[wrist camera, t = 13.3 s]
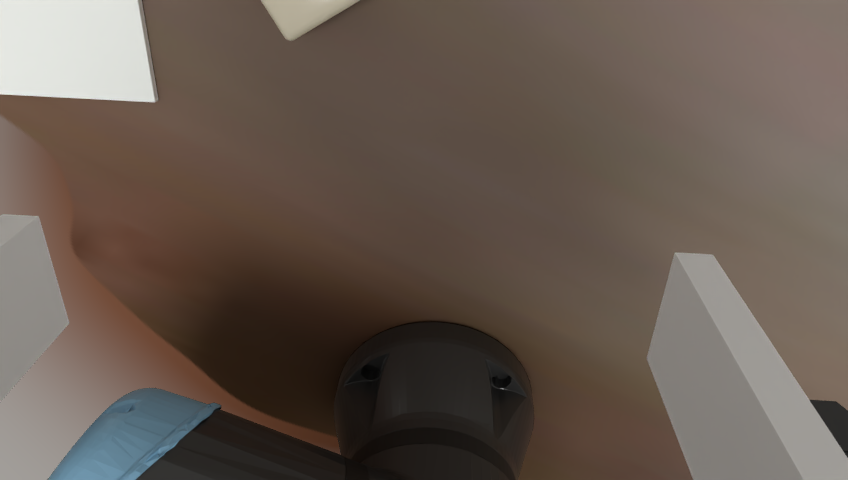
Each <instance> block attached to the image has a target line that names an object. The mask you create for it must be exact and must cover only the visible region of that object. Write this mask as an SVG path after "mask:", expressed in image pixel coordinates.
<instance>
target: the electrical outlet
mask: <svg viewBox="0 0 848 480" xmlns="http://www.w3.org/2000/svg"><path fill="white" fill-rule="evenodd" d="M358 1H360V0H261V2H262V3H263V5H264V6H265V8H266V9H267V11H268V12H269V14H270V16H271V17H272V19H273V20H274V22H275V23H276V25H277V27H278V28H279V30H280V31H281V33H282V34H283V36H284V37H285V38H286V39H287V40H289V41H293V40H295V39H297V38H299V37H300V36H302V35H304V34H305V33H307V32H309V31H310V30H312V29H313V28H315V27H317V26H318V25H320V24H322V23H323V22H325V21H327V20H328V19H330V18H332V17H333V16H335V15H337V14H338V13H340V12H342V11H343V10H345V9H347V8H348V7H350V6H352V5H353V4H355V3H357V2H358Z"/></svg>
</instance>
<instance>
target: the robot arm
mask: <svg viewBox="0 0 848 480" xmlns="http://www.w3.org/2000/svg"><path fill="white" fill-rule="evenodd" d="M68 324H69V320H68V317H67V313H66V310H65V306H64V303H63V299H62V296H61V292H60V289H59V285H58V282H57V278H56V275H55V271H54V268H53V264H52V261H51V257H50V254H49V250H48V247H47V243H46V240H45V236H44V233H43V229H42V226H41V223H40V219H39V216H26V215H9V214H2V215H1V216H0V402H1V401H2V400H3V398H4V397H5V396H6V395H7V394H8V393H9V392H10V390H11V389H12V388H13V387H14V386H15V385H16V384H17V382H18V381H19V380H20V379H21V378H22V377H23V376H24V374H25V373H26V372H27V371H28V370H29V369H30V368H31V366H32V365H33V364H34V363H35V362H36V361H37V360H38V358H39V357H40V356H41V355H42V354H43V353H44V352H45V350H46V349H47V348H48V347H49V346H50V345H51V344H52V343H53V341H54V340H55V339H56V338H57V337H58V336H59V334H60V333H61V332H62V331H63V330H64V329H65V328H66V326H67V325H68ZM647 360H648V363H649V366H650V368H651V371H652V373H653V376H654V379H655V381H656V384H657V386H658V389H659V392H660V394H661V397H662V400H663V402H664V405H665V407H666V410H667V413H668V415H669V418H670V420H671V423H672V426H673V428H674V431H675V433H676V436H677V439H678V441H679V444H680V446H681V449H682V452H683V454H684V457H685V459H686V462H687V465H688V467H689V470H690V472H691V475H692V478H693V480H848V411H847V410H846V409H845V408H844V407H842V406H841V405H840V404H839V403H837V402H835V401H819V400H809V399H808V397H807V396H806V394H805V393H804V391H803V390H802V388H801V387H800V385H799V384H798V382H797V381H796V379H795V378H794V376H793V375H792V373H791V372H790V370H789V369H788V367H787V366H786V364H785V363H784V361H783V360H782V358H781V357H780V355H779V354H778V352H777V351H776V349H775V348H774V346H773V345H772V343H771V342H770V340H769V339H768V337H767V336H766V334H765V333H764V331H763V330H762V328H761V326H760V325H759V323H758V322H757V320H756V319H755V317H754V316H753V314H752V313H751V311H750V310H749V308H748V307H747V305H746V304H745V302H744V301H743V299H742V298H741V296H740V295H739V293H738V292H737V290H736V289H735V287H734V286H733V284H732V283H731V281H730V280H729V278H728V277H727V275H726V274H725V272H724V271H723V269H722V268H721V266H720V265H719V263H718V262H717V260H716V259H715V257H714V256H713V255H711V254H693V253H676V252H675V253H674V257H673V261H672V265H671V269H670V272H669V276H668V280H667V284H666V287H665V291H664V295H663V299H662V303H661V306H660V310H659V314H658V318H657V321H656V325H655V329H654V333H653V337H652V340H651V344H650V348H649V352H648V356H647ZM220 409H221V405H219V404H217V403H211V404H205V403H202V402H199V401H196V400H193V399H190V398H187V397H184V396H180V395H177V394H174V393H171V392H168V391H165V390H162V389H157V388H144V389H138V390H135V391H132V392H130V393H128V394H126V395H124V396H123V397H121V398H120V399H118V400H117V401H116V402H114V403H113V404H112V405H111V406H109V407H108V408H107V409H106V410H105V411H104V412H103V413H102V414H101V415H100V416H99V417H98V418H97V419H96V420H95V422H94V423H93V424H92V425H91V426H90V427H89V428H88V429H87V430H86V432H85V433H84V434H83V435H82V436H81V438H80V439H79V440H78V441H77V442H76V443H75V445H74V446H73V447H72V448H71V450H70V451H69V452H68V453H67V455H66V456H65V457H64V459H63V460H62V461H61V462H60V464H59V465H58V467H57V468H56V469H55V470H54V472H53V473H52V474H51V476H50V477H49V478H48V480H518V477H519V474H520V470H521V467H522V464H523V461H524V457H525V454H526V451H527V447H528V444H529V441H530V438H531V434H532V430H533V424H534V407H533V399H532V392H531V386H530V382H529V379H528V376H527V374H526V372H525V370H524V368H523V367H522V365H521V363H520V362H519V361H518V360H517V358H516V357H515V356H514V355H513V354H512V353H511V352H510V351H509V350H508V349H507V348H506V347H504V346H503V345H502V344H501V343H499V342H498V341H496V340H495V339H493V338H491V337H489V336H487V335H485V334H483V333H481V332H479V331H476V330H474V329H471V328H468V327H464V326H460V325H455V324H449V323H440V322H422V323H413V324H407V325H402V326H399V327H395V328H392V329H389V330H386V331H384V332H382V333H380V334H378V335H376V336H374V337H372V338H371V339H369V340H368V341H366V342H365V343H364V344H362V345H361V346H360V347H359V348H358V349H357V350H356V351H355V352H354V353H353V354H352V355H351V357H350V358H349V359H348V361H347V362H346V364H345V366H344V368H343V370H342V372H341V375H340V378H339V383H338V387H337V391H336V395H335V400H334V422H335V427H336V432H337V437H338V442H339V447H340V453H341V455H339V454H337V453H334V452H331V451H329V450H326V449H323V448H321V447H318V446H315V445H313V444H310V443H307V442H305V441H302V440H299V439H297V438H294V437H292V436H289V435H286V434H283V433H281V432H278V431H276V430H273V429H270V428H268V427H265V426H262V425H260V424H257V423H254V422H252V421H249V420H246V419H243V418H241V417H238V416H236V415H233V414H230V413H228V412H225V411H222V410H220Z"/></svg>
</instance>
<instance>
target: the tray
mask: <svg viewBox="0 0 848 480" xmlns="http://www.w3.org/2000/svg"><path fill="white" fill-rule="evenodd" d="M0 94H7V95H26V96H45V97H64V98H83V99H102V100H121V101H140V102H156V101H158V94H157V88H156V82H155V76H154V70H153V64H152V58H151V52H150V46H149V40H148V34H147V28H146V22H145V16H144V10H143V4H142V0H0Z"/></svg>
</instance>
